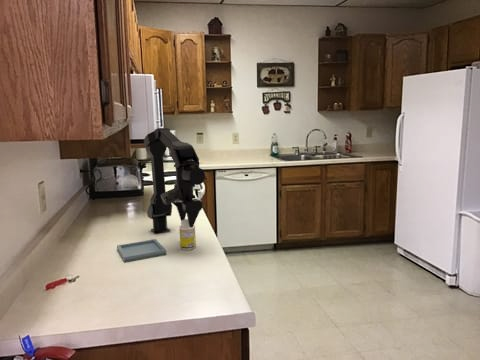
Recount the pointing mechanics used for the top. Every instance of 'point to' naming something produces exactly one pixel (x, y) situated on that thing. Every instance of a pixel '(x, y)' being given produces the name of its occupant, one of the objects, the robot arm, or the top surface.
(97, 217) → the top surface
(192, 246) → the supplement bottle
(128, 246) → the tray
